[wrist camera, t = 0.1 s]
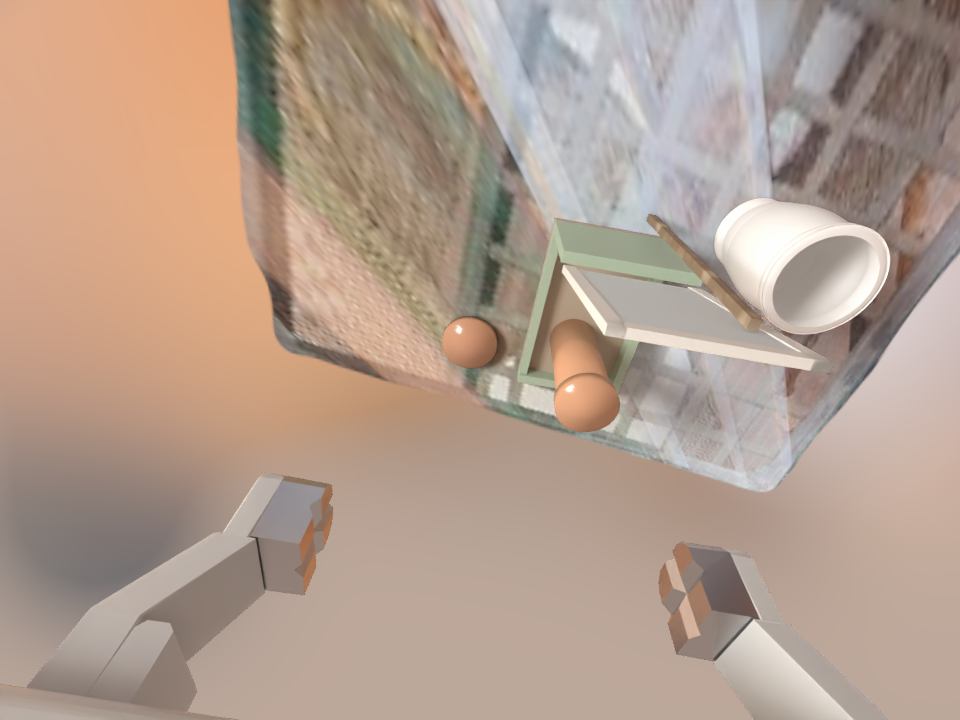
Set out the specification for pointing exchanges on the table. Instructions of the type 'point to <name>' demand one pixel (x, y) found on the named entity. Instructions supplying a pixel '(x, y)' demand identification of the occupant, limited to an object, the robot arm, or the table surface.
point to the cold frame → (560, 301)
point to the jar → (801, 263)
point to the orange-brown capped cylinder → (581, 378)
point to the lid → (683, 320)
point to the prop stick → (708, 276)
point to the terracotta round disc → (469, 342)
